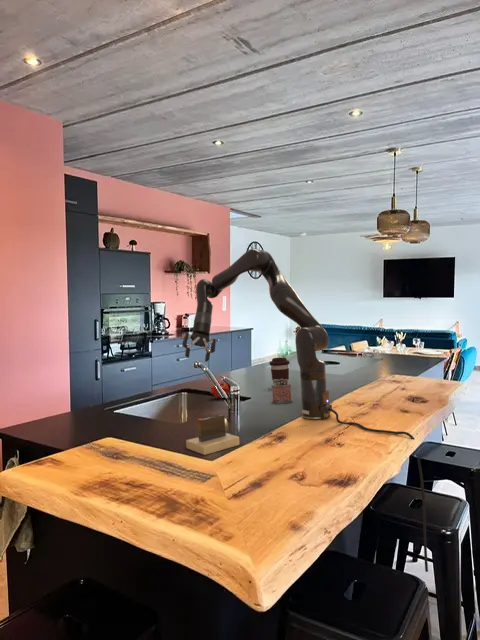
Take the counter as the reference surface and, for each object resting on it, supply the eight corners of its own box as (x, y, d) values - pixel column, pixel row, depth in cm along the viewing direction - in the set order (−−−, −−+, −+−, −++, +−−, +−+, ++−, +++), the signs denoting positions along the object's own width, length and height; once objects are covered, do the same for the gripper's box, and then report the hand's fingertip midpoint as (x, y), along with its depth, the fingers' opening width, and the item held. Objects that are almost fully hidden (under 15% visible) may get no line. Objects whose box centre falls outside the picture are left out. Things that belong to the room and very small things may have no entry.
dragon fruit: (211, 400, 228) (232, 405, 222) (203, 393, 222) (225, 398, 216) (218, 384, 232) (239, 389, 226) (210, 376, 225) (232, 381, 219)
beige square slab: (218, 438, 158) (217, 429, 158) (243, 445, 148) (242, 437, 147) (183, 447, 150) (182, 438, 150) (207, 456, 139) (206, 447, 139)
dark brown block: (222, 434, 152) (221, 413, 152) (225, 435, 151) (224, 414, 150) (198, 441, 146) (197, 419, 146) (201, 442, 145) (200, 419, 145)
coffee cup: (283, 390, 234) (281, 359, 234) (267, 389, 241) (265, 359, 241) (294, 386, 242) (293, 357, 241) (279, 385, 248) (277, 356, 248)
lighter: (291, 400, 209) (290, 377, 209) (291, 402, 205) (290, 379, 205) (272, 401, 210) (271, 378, 209) (272, 403, 206) (271, 380, 206)
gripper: (189, 318, 208) (183, 354, 203) (220, 325, 212) (215, 361, 208) (184, 322, 214) (178, 357, 210) (214, 328, 219) (209, 363, 214)
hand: (196, 359), depth 209 cm, fingers open, 8 cm apart
